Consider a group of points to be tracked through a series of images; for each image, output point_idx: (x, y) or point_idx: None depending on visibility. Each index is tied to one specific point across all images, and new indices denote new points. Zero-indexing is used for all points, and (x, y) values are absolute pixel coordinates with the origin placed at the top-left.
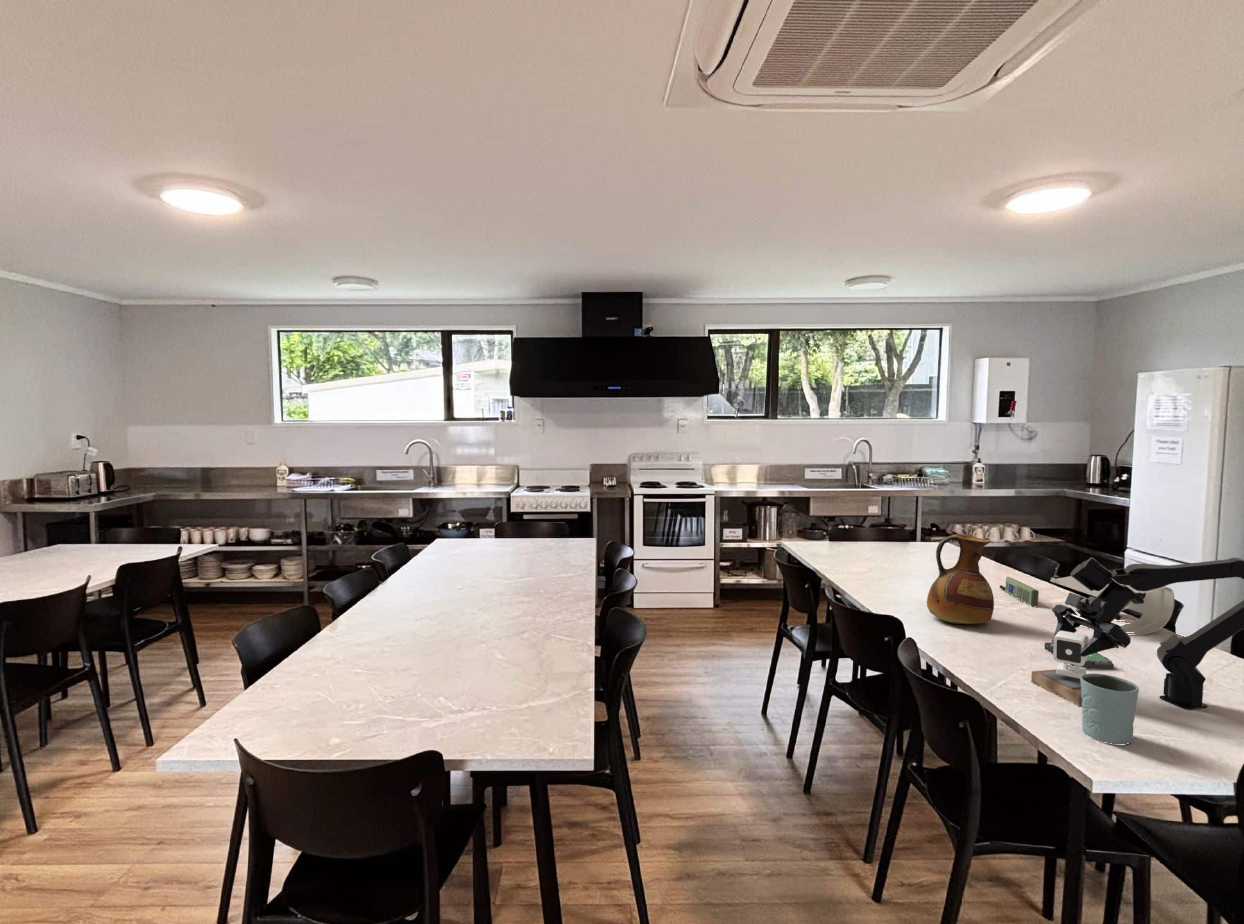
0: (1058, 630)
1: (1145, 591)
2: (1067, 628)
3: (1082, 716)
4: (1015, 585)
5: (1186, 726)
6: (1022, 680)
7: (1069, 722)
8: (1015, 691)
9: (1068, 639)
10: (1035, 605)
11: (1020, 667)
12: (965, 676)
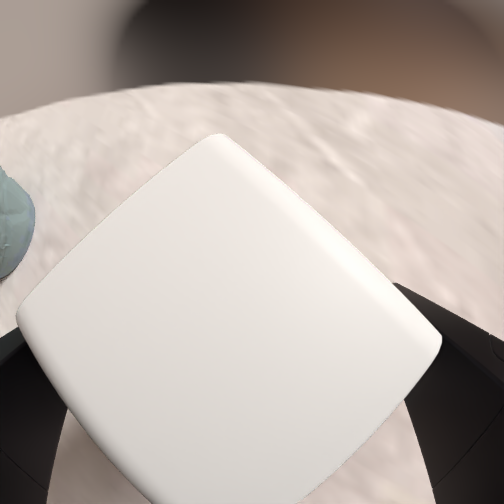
0: (461, 341)
1: None
2: (475, 466)
3: (10, 178)
4: None
5: None
6: (365, 246)
7: (61, 190)
8: (265, 162)
9: (110, 217)
10: None
11: (474, 317)
12: (374, 100)
